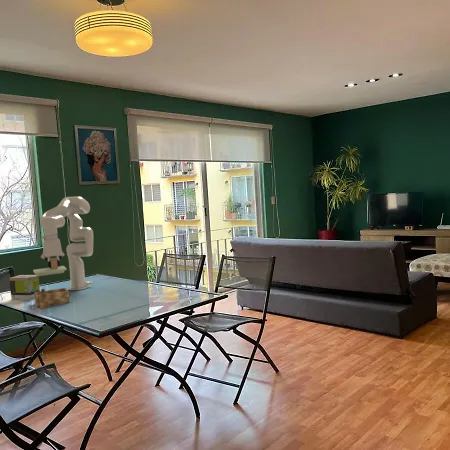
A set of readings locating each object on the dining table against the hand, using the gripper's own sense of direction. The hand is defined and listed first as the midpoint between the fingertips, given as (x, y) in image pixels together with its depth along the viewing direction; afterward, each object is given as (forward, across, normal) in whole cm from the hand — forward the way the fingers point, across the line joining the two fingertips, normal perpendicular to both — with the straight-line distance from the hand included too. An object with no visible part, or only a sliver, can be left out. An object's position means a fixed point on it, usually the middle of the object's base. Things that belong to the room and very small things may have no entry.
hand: (54, 267), depth 272 cm
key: (+13, -8, -14) cm, 21 cm away
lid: (+3, -3, 0) cm, 4 cm away
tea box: (+22, -16, +24) cm, 37 cm away
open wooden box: (+22, -3, -3) cm, 22 cm away
